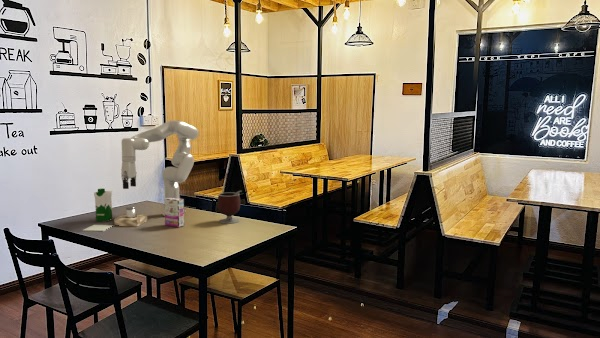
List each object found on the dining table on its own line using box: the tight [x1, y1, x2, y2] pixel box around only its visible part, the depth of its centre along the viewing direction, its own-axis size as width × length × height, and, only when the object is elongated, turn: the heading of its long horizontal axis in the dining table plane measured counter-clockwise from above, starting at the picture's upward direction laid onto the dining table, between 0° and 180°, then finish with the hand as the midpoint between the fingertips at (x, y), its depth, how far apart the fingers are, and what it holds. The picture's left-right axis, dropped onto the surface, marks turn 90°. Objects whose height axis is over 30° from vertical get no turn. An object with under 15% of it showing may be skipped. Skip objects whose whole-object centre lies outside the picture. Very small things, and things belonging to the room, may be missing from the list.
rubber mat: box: [82, 224, 115, 232], centre depth 259 cm, size 12×12×1 cm
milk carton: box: [93, 188, 114, 222], centre depth 279 cm, size 9×9×20 cm
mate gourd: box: [217, 190, 242, 225], centre depth 278 cm, size 16×14×20 cm
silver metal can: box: [125, 205, 136, 218], centre depth 272 cm, size 5×5×10 cm
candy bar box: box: [163, 197, 185, 228], centre depth 266 cm, size 11×5×16 cm, turn 62°
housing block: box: [113, 213, 148, 227], centre depth 272 cm, size 14×14×4 cm
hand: (129, 187), depth 270 cm, fingers open, 9 cm apart
